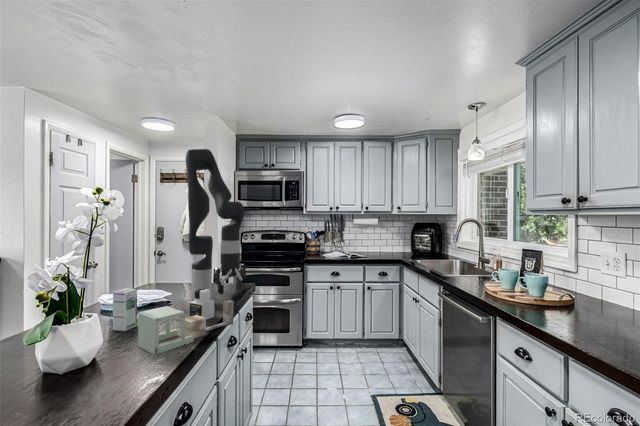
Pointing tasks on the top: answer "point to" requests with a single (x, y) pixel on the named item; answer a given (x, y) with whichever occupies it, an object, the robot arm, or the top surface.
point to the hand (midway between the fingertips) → (229, 292)
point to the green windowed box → (150, 330)
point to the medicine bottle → (202, 304)
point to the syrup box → (124, 309)
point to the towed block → (198, 323)
